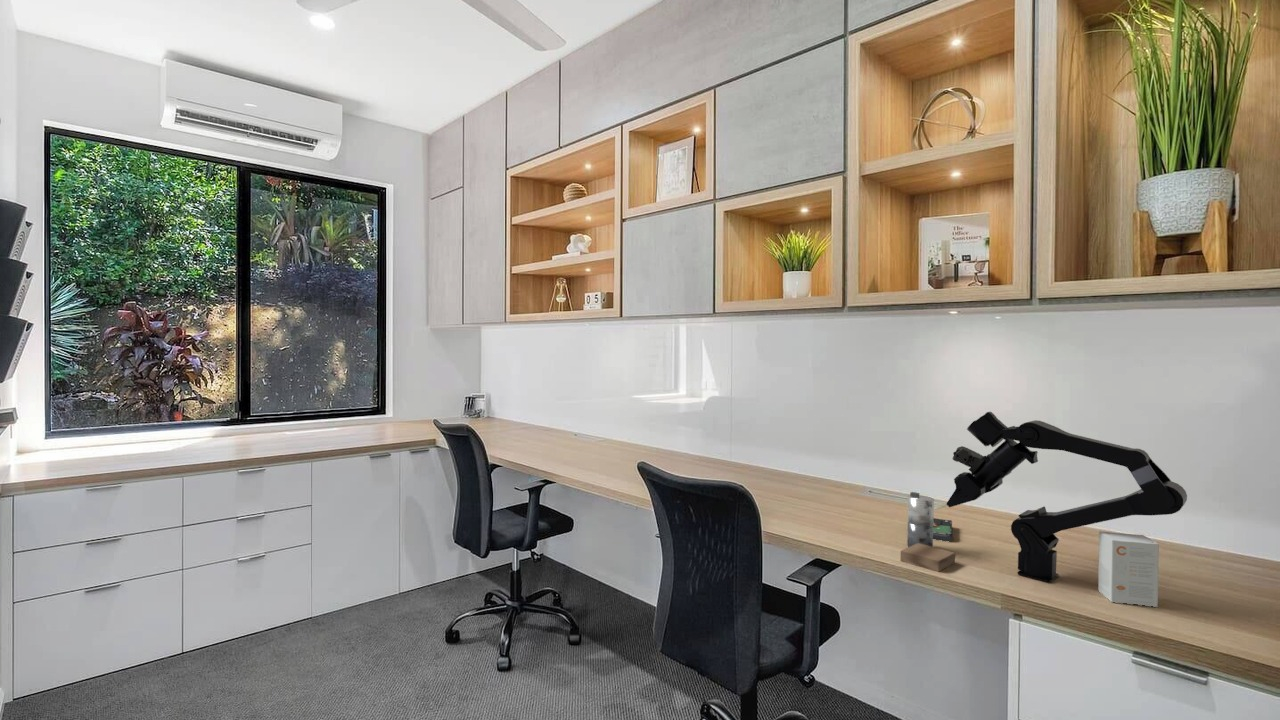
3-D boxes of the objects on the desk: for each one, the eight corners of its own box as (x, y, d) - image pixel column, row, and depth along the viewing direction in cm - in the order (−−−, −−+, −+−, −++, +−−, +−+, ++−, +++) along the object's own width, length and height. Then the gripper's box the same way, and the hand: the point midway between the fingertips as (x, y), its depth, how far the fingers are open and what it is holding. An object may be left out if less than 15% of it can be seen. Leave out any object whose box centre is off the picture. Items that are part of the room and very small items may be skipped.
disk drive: (912, 524, 177) (909, 538, 164) (912, 515, 177) (910, 527, 164) (951, 529, 172) (952, 544, 159) (952, 520, 172) (952, 533, 159)
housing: (936, 548, 154) (937, 494, 154) (926, 553, 150) (927, 498, 150) (913, 542, 159) (914, 490, 159) (903, 547, 155) (904, 493, 155)
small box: (1142, 595, 126) (1143, 534, 125) (1158, 608, 120) (1160, 543, 119) (1096, 590, 128) (1098, 530, 128) (1110, 602, 122) (1112, 539, 122)
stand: (954, 562, 144) (955, 552, 144) (938, 571, 138) (938, 561, 138) (917, 552, 151) (917, 543, 151) (900, 560, 145) (900, 550, 145)
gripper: (985, 432, 152) (942, 472, 160) (961, 440, 139) (915, 482, 146) (1023, 466, 146) (976, 505, 154) (1001, 477, 133) (951, 519, 141)
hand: (954, 502), depth 149 cm, fingers open, 9 cm apart
